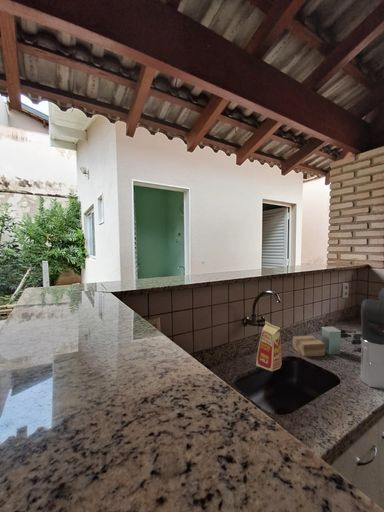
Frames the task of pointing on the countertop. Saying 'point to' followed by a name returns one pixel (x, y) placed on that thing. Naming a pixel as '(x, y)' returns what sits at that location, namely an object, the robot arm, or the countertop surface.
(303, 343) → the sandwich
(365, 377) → the robot arm
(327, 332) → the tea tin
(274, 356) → the milk carton
